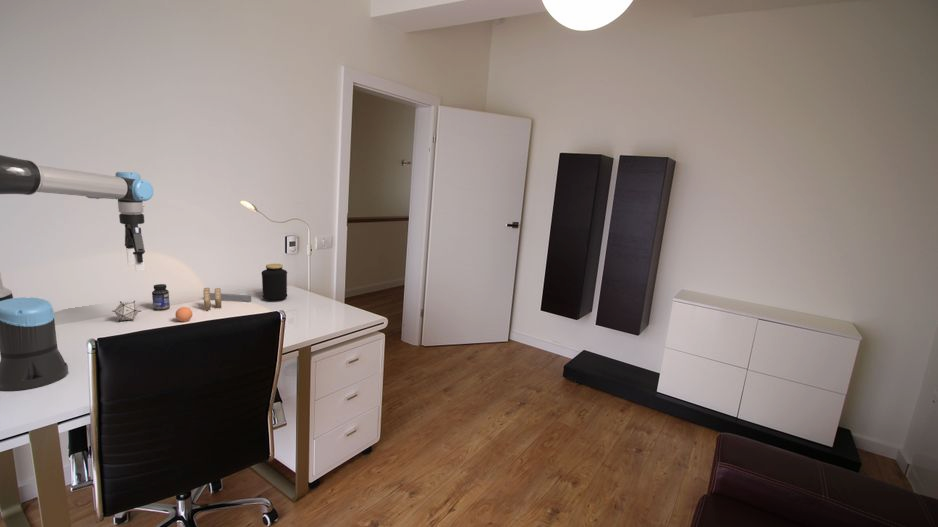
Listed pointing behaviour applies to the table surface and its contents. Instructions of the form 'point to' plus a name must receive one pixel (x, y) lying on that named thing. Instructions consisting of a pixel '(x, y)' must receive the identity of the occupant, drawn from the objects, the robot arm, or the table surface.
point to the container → (274, 282)
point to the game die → (126, 311)
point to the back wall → (232, 297)
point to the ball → (183, 314)
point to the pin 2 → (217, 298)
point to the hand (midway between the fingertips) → (136, 267)
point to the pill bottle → (160, 297)
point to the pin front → (206, 300)
